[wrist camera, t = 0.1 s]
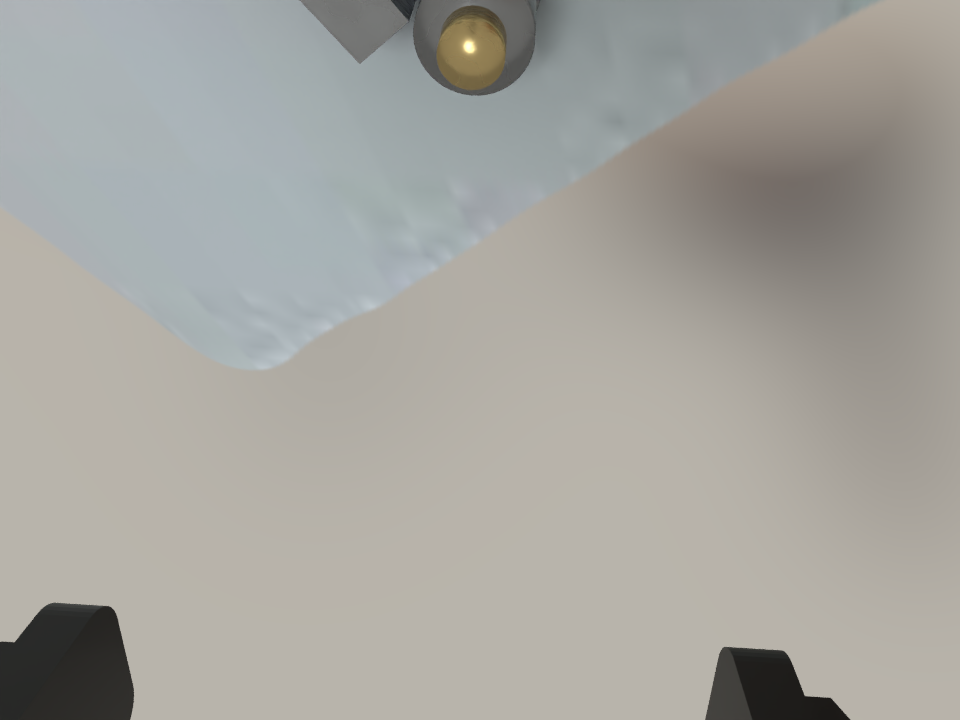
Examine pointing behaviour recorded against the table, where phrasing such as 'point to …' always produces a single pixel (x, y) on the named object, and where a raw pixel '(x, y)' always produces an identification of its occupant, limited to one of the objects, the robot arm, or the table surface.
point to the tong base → (362, 21)
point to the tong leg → (518, 17)
